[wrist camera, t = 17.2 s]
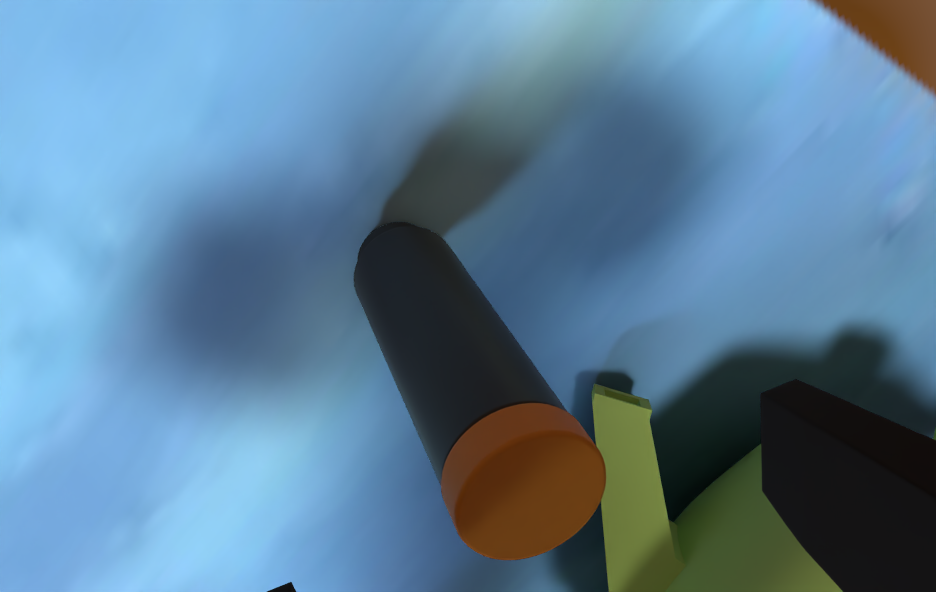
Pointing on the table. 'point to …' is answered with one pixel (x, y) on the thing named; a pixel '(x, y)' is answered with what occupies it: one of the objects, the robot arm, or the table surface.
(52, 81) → the table surface
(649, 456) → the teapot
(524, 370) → the marker
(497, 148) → the table surface
